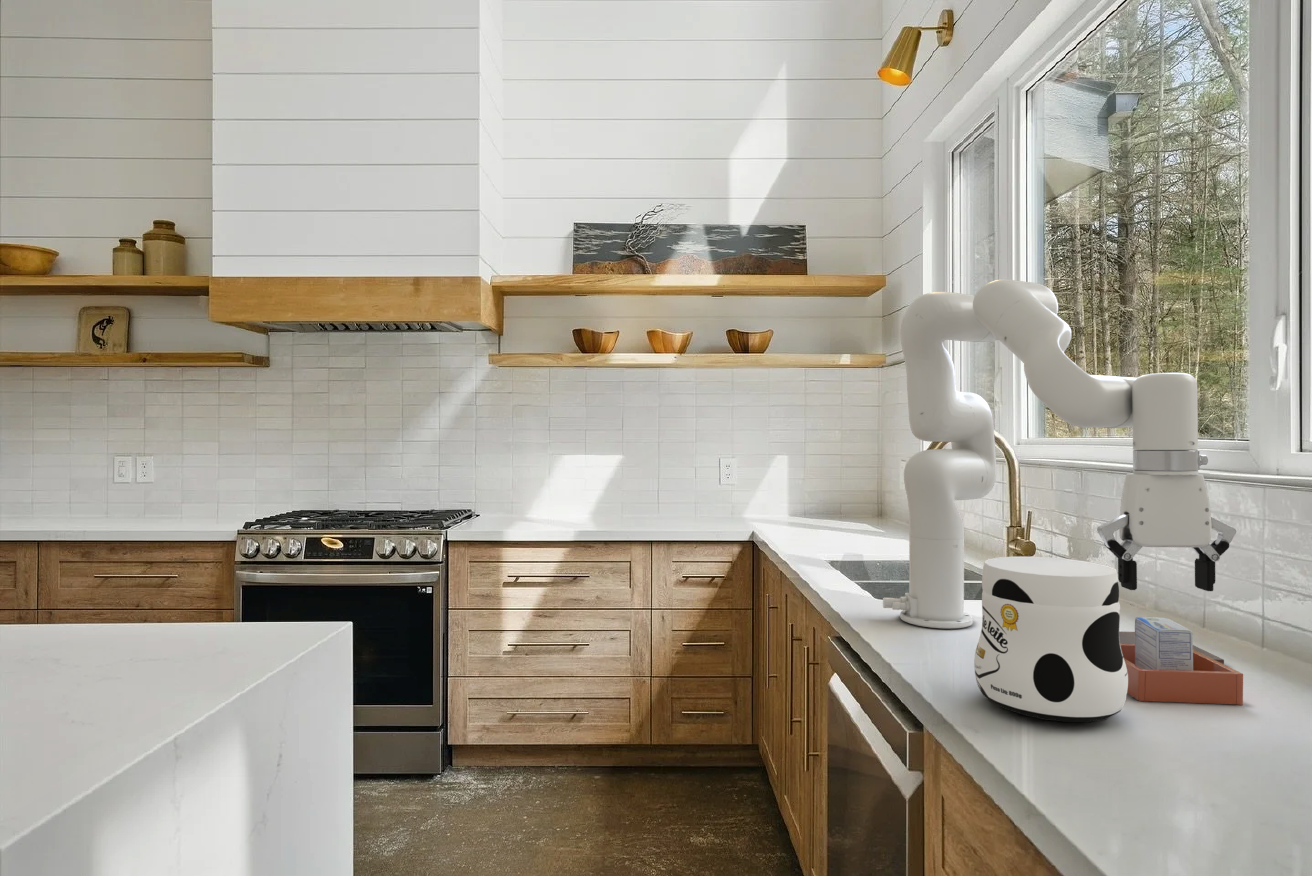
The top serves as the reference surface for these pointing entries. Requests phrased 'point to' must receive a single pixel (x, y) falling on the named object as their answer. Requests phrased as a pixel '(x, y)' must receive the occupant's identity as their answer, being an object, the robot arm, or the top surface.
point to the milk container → (1051, 639)
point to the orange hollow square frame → (1184, 681)
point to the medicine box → (1162, 644)
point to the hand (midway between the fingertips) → (1166, 588)
